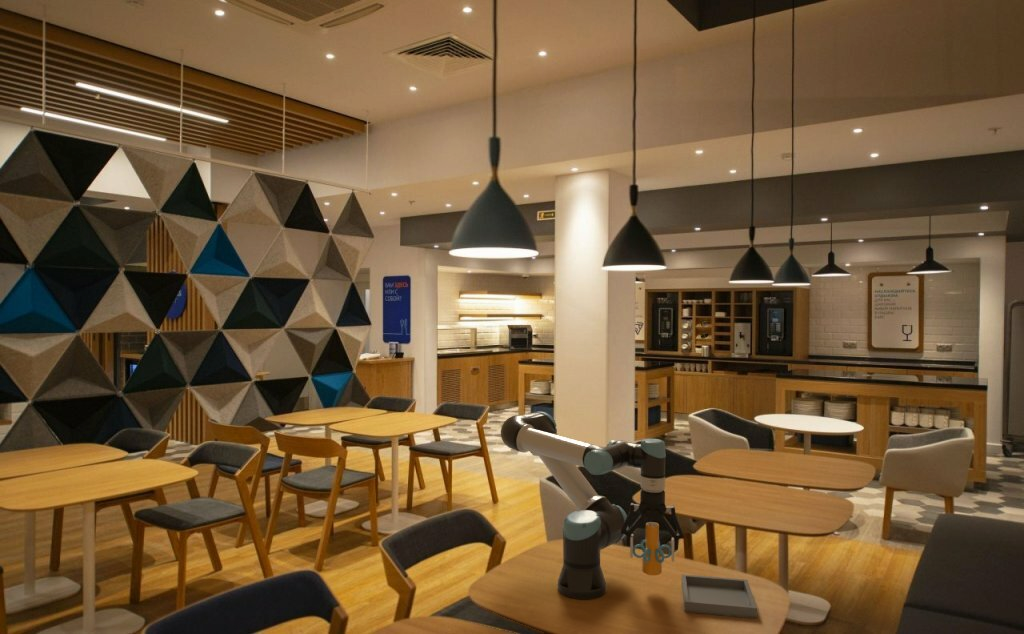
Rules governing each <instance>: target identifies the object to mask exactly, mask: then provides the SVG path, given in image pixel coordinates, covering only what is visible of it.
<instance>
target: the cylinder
mask: <svg viewBox="0 0 1024 634" xmlns="http://www.w3.org/2000/svg"><path fill="white" fill-rule="evenodd" d="M659 535H660V525H659V523H658V522H653V521H649V522H646V523H645V539H642V540H641V542H640V543H639V544H635V545H633V557H636V558H638V559H641V560H642V563H641V565H642V566H641V571H642V573H643V574H646V575H649V576H659V575H662V572H663V570H662V568H663V563H664V561H665V559H668V558H670V557H671V554H672V547H670V546H669V545H668V544H661V542H660V537H659ZM644 543H645V545H644ZM637 548H641V551H642V552H643V553H642V554H637V553H636V549H637ZM663 548H666V549H668V554H667V555H665V553H664V551H663V550H662V549H663Z"/></svg>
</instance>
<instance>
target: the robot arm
mask: <svg viewBox="0 0 1024 634" xmlns="http://www.w3.org/2000/svg"><path fill="white" fill-rule="evenodd" d="M557 432H558V428H557V423H556V421H555V419H554V418H553V416H551V415H550V414H549V413H547V412H544V411H531V412H528V413H523V414H517V415H512V416H510V417H508V418H507V419H505V421H504V422H503V424H502V425H501V429H500V437H501V441H502V442H503V444H504V445H505V446H506V447H508V448H509V449H511V450H514V451H517V452H521V453H524V454H525V453H527V452H529V453H531V455H532V456H534V457H535V456H536V457H539V459H540V460H541V461H542V463H543V464H544V465H545V466H546V468H547V470H548V471H549V472H550V474H551V475H552V476H553V478H554V479H555V480H556V482H557V483H558V484H559V486H560V487H561V489H562V490H563V491H564V493H565V494H566V495H567V497H568V498H569V500H570V501H571V503H572V504H573V505H574V507H575V508H576V509H577V510H575V511H572V512H570V513H568V514H567V515H565V517H564V520H563V526H562V537H563V538H562V543H563V544H562V548H563V549H562V553H563V554H562V555H563V559H562V560H563V562H562V568H561V570H560V573H559V576H558V580H557V590H558V592H559V593H560V594H562V595H564V597H568V598H569V599H570V598H571V599H575V600H593V599H597V598H600V597H602V596H604V595H605V594H606V592H607V583H606V582H607V581H606V579H605V574H604V572H603V570H602V566H601V550H604V549H605V548H608V547H610V546H612V545H614V544H617V543H619V542H620V541H621V540H623V539H624V538H625V537H626V546H627V547H629V548H630V549H629V557H630V559H633V557H634V554H633V547H634V534H633V533H634V532H635V531H636V529H637V528H639V526H640V525H641V523H642V522H644V521H645V519H647V521H648V520H649V521H650V520H654V521H658V520H660V522H661V523H662V524H663V525H664V527H665V529H667V531H668V532H669V534H670V536H671V549H672V554H671V556H670V557H671V562H672V563H673V562H675V551H678V550H679V540H683V539H684V538H685V534H684V531H683V529H682V526H681V524H680V521H679V519H678V517H677V513H676V507H675V505H671V506H667V505H666V490H665V489H666V457H667V454H666V444H665V442H664V440H662V439H658V438H644V439H641V442H640V443H634V442H630V441H624V440H621V439H620V440H618V439H617V440H616V439H611V440H610V441H609V442H608V443H607V444H606V446H600V445H599V446H598V445H596V444H591V443H588V442H586V441H581V440H577V439H572V438H570V437H569V438H568V437H566V436H563V435H562V436H561V435H559V434H558V433H557ZM578 466H579V467H583V468H585V469H586V471H588V472H589V474H591V475H593V476H600V475H605V474H607V473H610V472H613V471H615V470H619V469H621V468H623V467H632V468H636V469H640V488H641V489H640V494H639V495H640V499H639V500H640V501H639V502H640V503H639V504H637V503H634V502H631V503H630V507H629V511H628V514H627V513H626V512H625V510H624V509H623V508H622V507H621V506H620V505H616V504H614V503H611V502H610V501H609V500H608V498H607V497H606V496H603V495H599V494H598V493H597V492H596V490H595V489H594V487H593V486H592V484H590V482H589V480H587V478H586V477H585V476H584V474H583V473H582V471H581V470H580V469H579V467H578ZM637 510H639V511H640V514H639V516H638V517H637V518H636V520H635V521H634V522H633V524H631V526H630V527H629V524H630V523H631V521H632V518H633V516H634V512H637ZM666 512H668V514H669V515H671V518H672V520H673V523H674V525H675V528H676V530H677V532H676V531H675V529H674V528H673V526H672V525H671V523H670V522H669V520H667V518H666V516H665V515H664V514H666Z"/></svg>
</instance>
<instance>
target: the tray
mask: <svg viewBox="0 0 1024 634" xmlns="http://www.w3.org/2000/svg"><path fill="white" fill-rule="evenodd" d="M681 589H682V598H683V608H684V613H694V614H704V615H713V616H715V615H716V616H726V617H735V618H744V617H748V619H755V618H757V619H758V607H757V603H756V601H755V597H754V595H753V592H752V589H751V587H750V583H749V581H748V579H741V578H733V577H732V578H731V577H719V576H707V575H706V576H705V575H693V574H685V573H684V574H681Z"/></svg>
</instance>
